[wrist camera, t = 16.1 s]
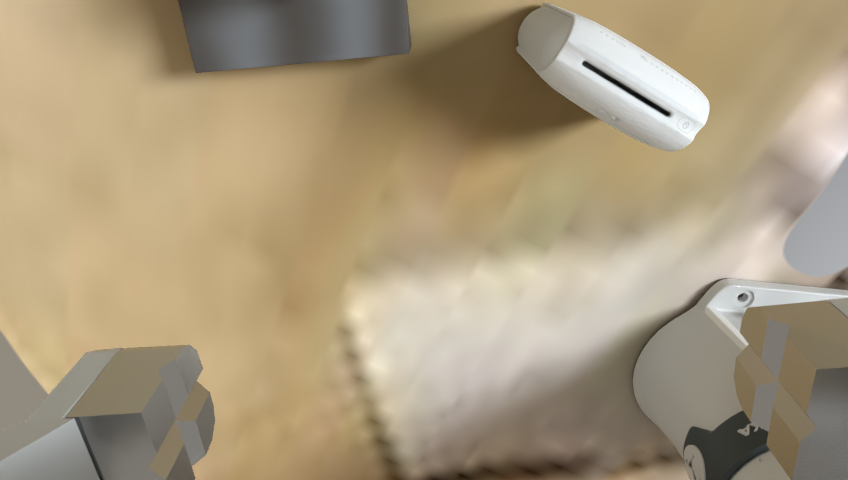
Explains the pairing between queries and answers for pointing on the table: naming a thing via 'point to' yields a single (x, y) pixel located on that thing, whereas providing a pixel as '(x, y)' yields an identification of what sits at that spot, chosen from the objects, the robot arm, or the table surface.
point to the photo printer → (612, 78)
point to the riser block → (292, 31)
